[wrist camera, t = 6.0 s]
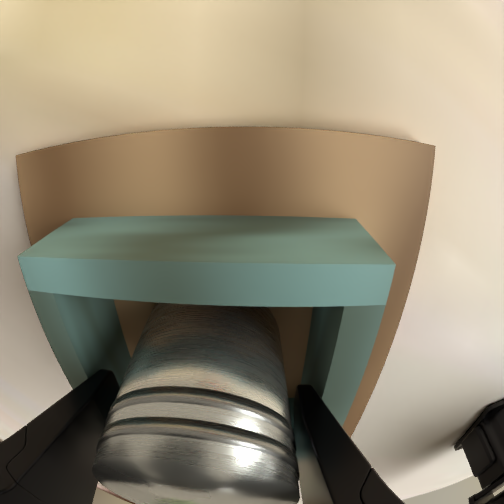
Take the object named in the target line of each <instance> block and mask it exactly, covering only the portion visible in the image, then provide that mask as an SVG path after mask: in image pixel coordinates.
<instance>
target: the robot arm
mask: <svg viewBox="0 0 504 504" xmlns="http://www.w3.org/2000/svg"><path fill="white" fill-rule="evenodd" d="M119 388H120V386H119V384H118V381H117V379H116V377H115V374H114V372H113V371H111V370H107V369H100V370H98V371H97V372H96V373H94V374H93V375H92V376H90V377H89V378H88V379H86V380H85V381H84V382H82V383H81V384H80V385H78V386H77V387H76V388H75V389H73V390H72V391H71V392H69V393H68V394H67V395H65V396H64V397H63V398H61V399H60V400H59V401H57V402H56V403H55V404H53V405H52V406H51V407H49V408H48V409H47V410H45V411H44V412H43V413H41V414H40V415H39V416H37V417H36V418H35V419H33V420H32V421H31V422H29V423H28V424H27V426H24V427H23V428H21V429H20V430H19V431H17V432H16V433H14V434H13V435H12V436H10V437H9V438H7V439H6V440H4V441H2V442H1V443H0V504H92V502H93V498H94V494H95V490H96V487H97V483H98V480H97V479H96V478H95V476H94V475H93V472H92V467H93V463H94V460H95V457H96V454H97V451H96V448H97V444H98V441H99V438H100V435H101V432H102V431H103V429H104V428H105V421H106V418H107V415H108V412H109V410H110V407H111V405H112V404H113V402H114V401H115V399H116V396H117V394H118V391H119ZM294 434H295V442H296V457H297V460H298V466H299V475H300V477H299V481H300V487H301V494H302V500H303V504H404V503H403V501H402V500H401V499H400V498H399V497H398V496H397V495H396V494H395V493H394V492H393V491H392V490H391V489H390V488H389V487H388V486H387V485H386V484H385V482H384V481H383V480H382V479H381V478H380V476H379V475H378V474H377V472H376V471H375V470H374V468H371V465H370V463H369V462H368V461H367V459H366V458H365V457H364V455H363V454H362V453H361V452H360V450H359V449H358V448H357V446H356V445H355V444H354V442H353V441H352V440H351V438H350V437H349V436H348V434H347V433H346V431H345V430H344V429H343V427H342V426H341V425H340V423H339V422H338V421H337V419H336V418H335V417H334V415H333V414H332V412H331V411H330V410H329V408H328V407H327V406H326V404H325V403H324V401H323V400H322V399H321V397H320V396H319V395H318V393H317V392H316V390H315V389H314V388H313V386H312V385H310V384H299V385H297V387H296V392H295V398H294ZM462 448H463V449H464V452H465V454H466V457H467V459H468V462H469V464H470V467H471V470H472V472H473V475H474V476H475V477H478V479H479V482H480V484H481V487H482V489H484V490H482V491H481V492H479V493H477V494H474V495H473V496H471V497H469V504H504V490H503V491H502V492H500V493H499V494H497V495H496V496H494V495H493V493H494V492H495V491H497V490H498V489H500V488H501V487H503V486H504V400H502V401H500V402H497V403H495V404H492V405H490V406H489V407H488V408H486V410H485V411H484V412H483V413H482V415H481V416H480V417H479V418H478V420H477V421H476V422H475V423H474V424H473V426H472V427H471V428H470V429H469V430H468V432H467V433H466V434H465V435H464V436H463V437H462V438H461V439H460V441H459V442H458V443H457V444H456V445H455V446H454V449H455V451H456V450H459V449H462ZM486 487H487V488H486Z"/></svg>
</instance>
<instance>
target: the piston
mask: <svg viewBox="0 0 504 504" xmlns="http://www.w3.org/2000/svg"><path fill="white" fill-rule="evenodd" d="M96 451H97V454H96V457H95V460H94V463H93V467H92V472H93V475H94V476H95V478H96V479H97V480H98V481H99V482H100V483H101V484H102V485H104V486H105V487H106V488H108V489H109V490H110V491H112V492H114V493H115V494H117V495H119V496H121V497H123V498H125V499H127V500H129V501H131V502H134V503H136V504H297V503H298V501H299V499H300V494H299V485H298V481H299V477H300V475H299V466H298V460H297V457H296V442H295V434H294V430H293V428H292V425H291V417H290V409H289V401H288V393H287V385H286V377H285V370H284V362H283V355H282V347H281V340H280V333H279V327H278V325H277V322H276V320H275V318H274V316H273V314H272V313H271V312H270V311H269V309H268V308H267V307H260V306H219V305H194V304H174V303H156V305H155V306H154V308H153V309H152V311H151V313H150V315H149V318H148V320H147V322H146V324H145V327H144V329H143V331H142V334H141V336H140V339H139V341H138V343H137V346H136V348H135V351H134V353H133V355H132V358H131V360H130V363H129V365H128V368H127V370H126V373H125V376H124V378H123V381H122V383H121V386H120V388H119V391H118V394H117V396H116V399H115V401H114V402H113V404H112V405H111V407H110V410H109V412H108V415H107V418H106V421H105V428H104V429H103V431H102V432H101V435H100V438H99V441H98V444H97V448H96Z"/></svg>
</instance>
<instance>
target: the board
mask: <svg viewBox="0 0 504 504" xmlns="http://www.w3.org/2000/svg"><path fill="white" fill-rule="evenodd" d="M434 157H435V146H433V145H429V144H424V143H419V142H414V141H408V140H402V139H396V138H389V137H383V136H376V135H368V134H360V133H351V132H342V131H331V130H319V129H304V128H283V127H208V128H187V129H172V130H160V131H149V132H140V133H131V134H123V135H116V136H109V137H102V138H96V139H89V140H84V141H78V142H73V143H68V144H63V145H58V146H53V147H48V148H44V149H40V150H35V151H31V152H27V153H24V154H20V155H16V163H17V172H18V180H19V187H20V194H21V200H22V206H23V211H24V216H25V221H26V226H27V230H28V235H29V239H30V243H31V247H30V248H28V249H27V250H26V251H24V252H23V253H21V254H20V255H19V256H18V260H19V263H20V267H21V270H22V273H23V276H24V280H25V283H26V286H27V289H28V291H29V294H30V297H31V300H32V302H33V305H34V308H35V310H36V313H37V315H38V318H39V320H40V323H41V325H42V328H43V330H44V332H45V335H46V337H47V339H48V341H49V343H50V346H51V348H52V350H53V352H54V354H55V356H56V358H57V360H58V362H59V364H60V366H61V368H62V370H63V372H64V374H65V376H66V377H67V379H68V381H69V383H70V385H71V387H72V388H73V389H75V388H76V387H77V386H78V385H80V384H81V383H82V382H84V381H85V380H86V379H88V378H89V377H90V376H92V375H93V374H94V373H96V372H97V371H98V370H100V369H107V370H111V371H113V372H114V374H115V377H116V379H117V381H118V384H119V386H121V383H122V381H123V378H124V376H125V373H126V370H127V368H128V365H129V363H130V360H131V358H132V355H133V353H134V351H135V348H136V346H137V343H138V341H139V339H140V336H141V334H142V331H143V329H144V327H145V324H146V322H147V320H148V318H149V315H150V313H151V311H152V309H153V308H154V306H155V305H156V303H174V304H194V305H219V306H260V307H267V308H268V309H269V311H270V312H271V313H272V314H273V316H274V318H275V320H276V322H277V325H278V327H279V333H280V340H281V347H282V355H283V362H284V370H285V377H286V385H287V393H288V401H289V409H290V417H291V425H292V428H293V430H294V398H295V392H296V387H297V385H299V384H310V385H312V386H313V388H314V389H315V390H316V392H317V393H318V395H319V396H320V397H321V399H322V400H323V401H324V403H325V404H326V406H327V407H328V408H329V410H330V411H331V412H332V414H333V415H334V417H335V418H336V419H337V421H338V422H339V423H340V425H341V426H342V427H343V429H344V430H345V431H346V433H347V434H348V436H349V437H350V438H351V436H352V434H353V432H354V430H355V428H356V426H357V424H358V422H359V420H360V418H361V416H362V414H363V412H364V410H365V407H366V405H367V403H368V401H369V399H370V397H371V394H372V392H373V390H374V388H375V385H376V383H377V381H378V378H379V376H380V373H381V371H382V368H383V366H384V363H385V361H386V358H387V356H388V353H389V350H390V348H391V345H392V342H393V339H394V337H395V334H396V331H397V328H398V325H399V322H400V319H401V316H402V313H403V309H404V306H405V303H406V300H407V296H408V293H409V289H410V286H411V282H412V278H413V274H414V271H415V267H416V263H417V258H418V254H419V250H420V245H421V241H422V236H423V231H424V226H425V221H426V215H427V209H428V203H429V197H430V190H431V183H432V175H433V166H434Z"/></svg>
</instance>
